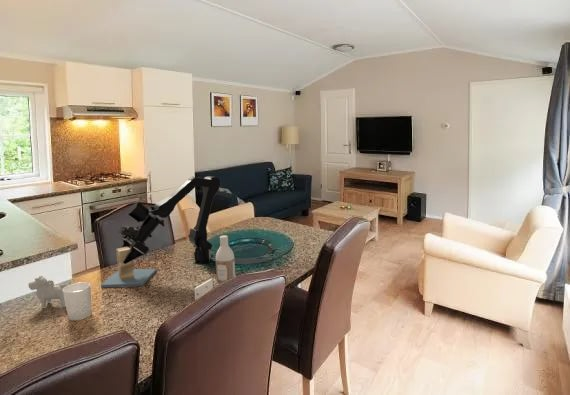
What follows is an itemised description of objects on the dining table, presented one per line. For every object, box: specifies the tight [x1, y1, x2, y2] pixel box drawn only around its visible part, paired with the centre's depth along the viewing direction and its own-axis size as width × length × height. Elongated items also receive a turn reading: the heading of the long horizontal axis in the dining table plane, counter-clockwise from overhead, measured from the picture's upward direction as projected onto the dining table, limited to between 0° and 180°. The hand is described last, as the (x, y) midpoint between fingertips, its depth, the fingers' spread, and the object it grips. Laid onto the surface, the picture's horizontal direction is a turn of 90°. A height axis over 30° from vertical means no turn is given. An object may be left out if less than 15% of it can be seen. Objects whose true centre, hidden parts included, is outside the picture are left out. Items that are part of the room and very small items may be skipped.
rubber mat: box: [100, 268, 157, 288], centre depth 154 cm, size 16×16×1 cm
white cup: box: [63, 281, 93, 321], centre depth 122 cm, size 8×8×10 cm
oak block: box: [115, 247, 134, 280], centre depth 151 cm, size 4×4×12 cm
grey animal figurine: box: [27, 275, 68, 309], centre depth 130 cm, size 5×13×11 cm, turn 93°
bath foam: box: [215, 234, 236, 285], centre depth 141 cm, size 7×7×20 cm
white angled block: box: [194, 277, 214, 301], centre depth 127 cm, size 4×10×9 cm, turn 84°
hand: (121, 260), depth 150 cm, fingers open, 9 cm apart
